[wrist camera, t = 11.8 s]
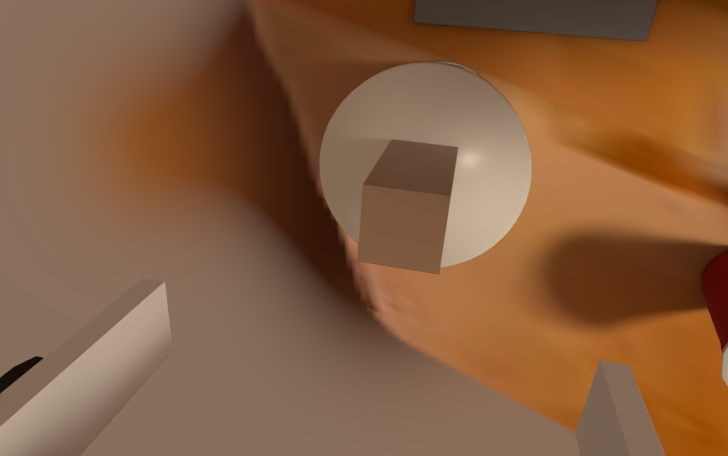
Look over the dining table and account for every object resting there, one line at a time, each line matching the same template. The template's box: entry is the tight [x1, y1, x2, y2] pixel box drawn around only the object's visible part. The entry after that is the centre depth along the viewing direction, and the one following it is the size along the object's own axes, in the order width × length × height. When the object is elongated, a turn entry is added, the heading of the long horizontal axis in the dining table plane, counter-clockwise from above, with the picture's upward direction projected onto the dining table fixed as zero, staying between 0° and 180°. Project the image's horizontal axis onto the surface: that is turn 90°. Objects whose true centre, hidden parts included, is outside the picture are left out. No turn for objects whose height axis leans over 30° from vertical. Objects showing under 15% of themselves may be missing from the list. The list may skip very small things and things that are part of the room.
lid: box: [319, 62, 532, 274], centre depth 28 cm, size 13×13×10 cm
